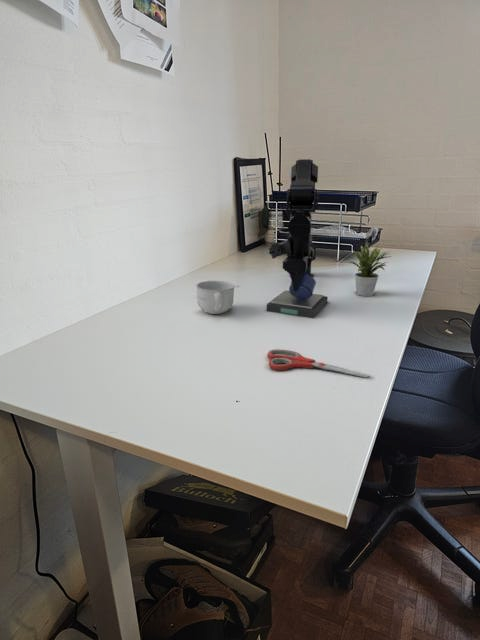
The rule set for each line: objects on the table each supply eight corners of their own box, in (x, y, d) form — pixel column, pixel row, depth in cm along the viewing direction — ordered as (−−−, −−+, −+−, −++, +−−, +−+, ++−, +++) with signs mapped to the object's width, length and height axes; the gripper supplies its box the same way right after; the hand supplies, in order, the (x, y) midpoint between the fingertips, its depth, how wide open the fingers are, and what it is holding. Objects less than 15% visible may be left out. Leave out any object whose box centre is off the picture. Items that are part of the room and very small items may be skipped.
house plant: (381, 304, 119) (388, 250, 113) (336, 297, 126) (340, 245, 120) (393, 292, 130) (399, 241, 124) (351, 286, 137) (355, 238, 131)
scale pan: (286, 292, 125) (286, 290, 125) (323, 296, 120) (323, 294, 120) (271, 303, 115) (271, 301, 115) (311, 309, 110) (311, 307, 110)
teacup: (200, 304, 122) (198, 279, 119) (235, 304, 121) (235, 278, 119) (193, 321, 109) (192, 293, 106) (233, 321, 109) (232, 293, 106)
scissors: (369, 378, 78) (369, 372, 78) (263, 369, 83) (263, 363, 82) (365, 361, 85) (366, 354, 85) (268, 353, 90) (268, 347, 89)
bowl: (300, 302, 118) (304, 290, 120) (316, 296, 113) (320, 283, 115) (283, 289, 115) (288, 277, 118) (299, 282, 110) (304, 270, 112)
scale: (283, 297, 127) (284, 291, 127) (327, 302, 121) (327, 296, 121) (266, 311, 115) (266, 304, 115) (313, 318, 109) (313, 311, 109)
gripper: (278, 226, 121) (277, 276, 127) (264, 237, 104) (263, 294, 110) (315, 227, 118) (313, 278, 124) (306, 238, 101) (304, 297, 107)
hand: (298, 286), depth 116 cm, fingers open, 9 cm apart
